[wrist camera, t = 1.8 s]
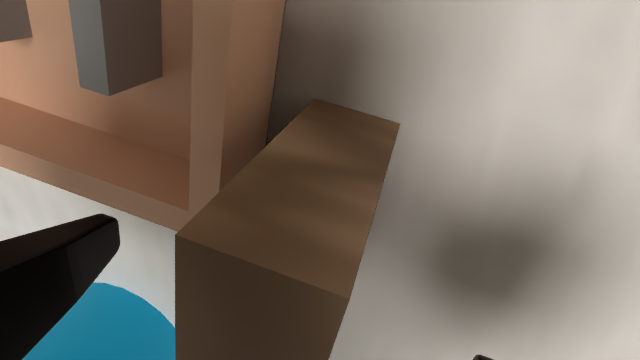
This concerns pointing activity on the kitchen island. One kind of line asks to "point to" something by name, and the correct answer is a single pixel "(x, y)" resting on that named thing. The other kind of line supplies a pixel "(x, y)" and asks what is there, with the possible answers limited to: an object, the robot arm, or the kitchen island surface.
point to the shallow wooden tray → (137, 97)
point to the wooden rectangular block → (282, 242)
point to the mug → (108, 329)
